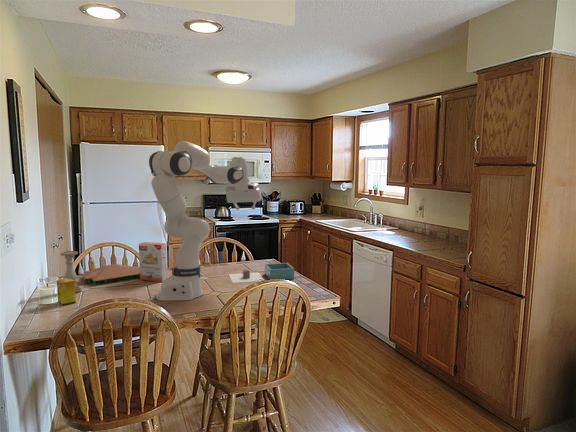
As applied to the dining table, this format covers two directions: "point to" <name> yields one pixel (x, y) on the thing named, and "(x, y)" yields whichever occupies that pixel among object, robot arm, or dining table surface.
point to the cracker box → (153, 261)
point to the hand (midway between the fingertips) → (245, 209)
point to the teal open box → (279, 271)
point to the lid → (245, 277)
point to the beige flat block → (111, 272)
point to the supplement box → (66, 291)
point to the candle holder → (70, 267)
